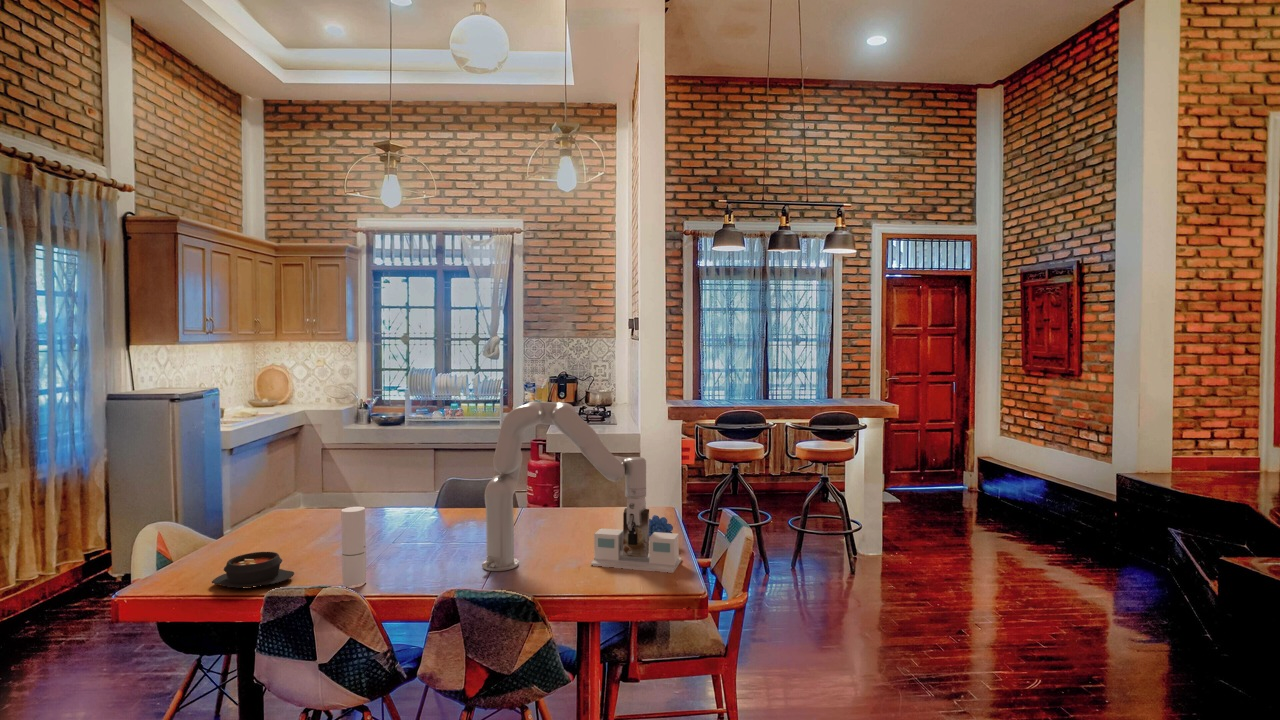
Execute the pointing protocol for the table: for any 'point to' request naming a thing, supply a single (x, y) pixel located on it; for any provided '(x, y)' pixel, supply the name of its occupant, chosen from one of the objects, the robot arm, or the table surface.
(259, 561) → the casserole
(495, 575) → the table surface
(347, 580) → the cylindrical container
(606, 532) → the rail board
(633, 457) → the robot arm
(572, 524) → the table surface
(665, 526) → the grapes
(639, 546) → the coffee box
